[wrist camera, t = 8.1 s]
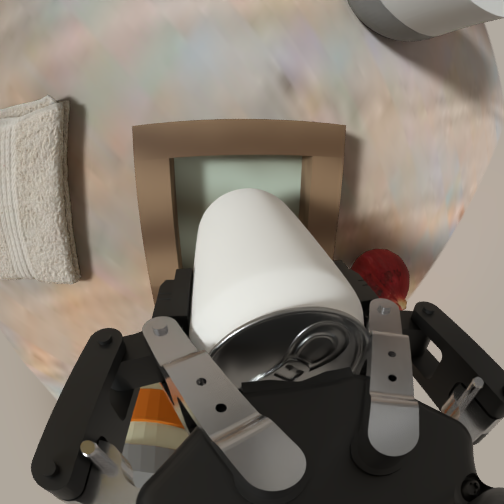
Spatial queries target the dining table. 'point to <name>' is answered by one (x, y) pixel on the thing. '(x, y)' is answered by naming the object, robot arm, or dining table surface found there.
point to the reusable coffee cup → (152, 433)
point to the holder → (231, 179)
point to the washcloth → (36, 194)
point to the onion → (384, 275)
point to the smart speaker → (424, 16)
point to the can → (270, 294)
